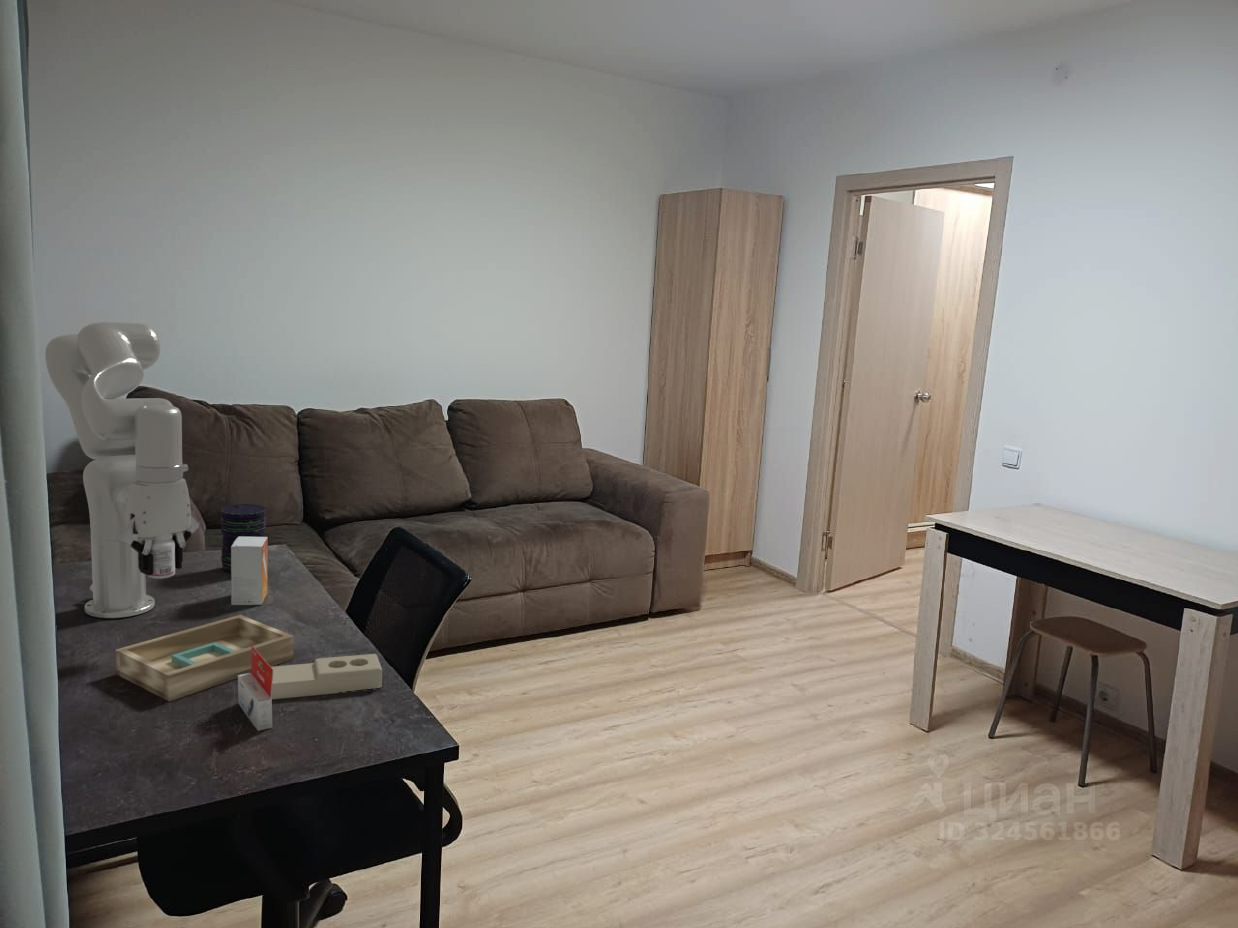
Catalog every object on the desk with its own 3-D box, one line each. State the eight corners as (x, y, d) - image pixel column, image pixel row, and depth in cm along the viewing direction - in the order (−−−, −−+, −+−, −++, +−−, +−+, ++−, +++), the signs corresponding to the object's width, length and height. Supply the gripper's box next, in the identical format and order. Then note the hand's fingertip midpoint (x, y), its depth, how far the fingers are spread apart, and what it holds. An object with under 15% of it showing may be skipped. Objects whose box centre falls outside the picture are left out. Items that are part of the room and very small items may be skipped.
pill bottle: (152, 570, 171) (152, 526, 169) (179, 571, 171) (179, 527, 170) (142, 578, 166) (141, 533, 165) (169, 579, 167) (168, 534, 165)
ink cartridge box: (257, 731, 142) (257, 672, 140) (237, 704, 151) (236, 647, 149) (273, 728, 144) (273, 669, 142) (252, 700, 152) (252, 645, 150)
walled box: (116, 674, 158) (115, 649, 157) (240, 636, 178) (240, 614, 177) (169, 701, 150) (168, 675, 149) (293, 658, 169) (293, 635, 169)
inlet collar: (171, 661, 162) (171, 655, 162) (215, 648, 169) (215, 641, 169) (199, 674, 158) (199, 668, 158) (243, 660, 165) (243, 654, 165)
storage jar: (274, 571, 218) (274, 510, 215) (235, 579, 210) (235, 516, 208) (251, 561, 224) (251, 502, 221) (213, 569, 216) (212, 507, 214)
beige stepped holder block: (270, 661, 159) (376, 652, 166) (270, 683, 160) (376, 673, 166) (271, 678, 152) (382, 668, 159) (271, 701, 153) (381, 690, 160)
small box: (262, 605, 195) (262, 546, 193) (230, 605, 194) (230, 546, 192) (268, 593, 203) (268, 536, 201) (237, 593, 202) (237, 535, 199)
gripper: (191, 464, 174) (192, 556, 178) (100, 476, 160) (103, 575, 164) (214, 471, 170) (215, 565, 174) (123, 483, 156) (126, 585, 160)
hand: (160, 569), depth 169 cm, fingers closed on pill bottle, 4 cm apart
